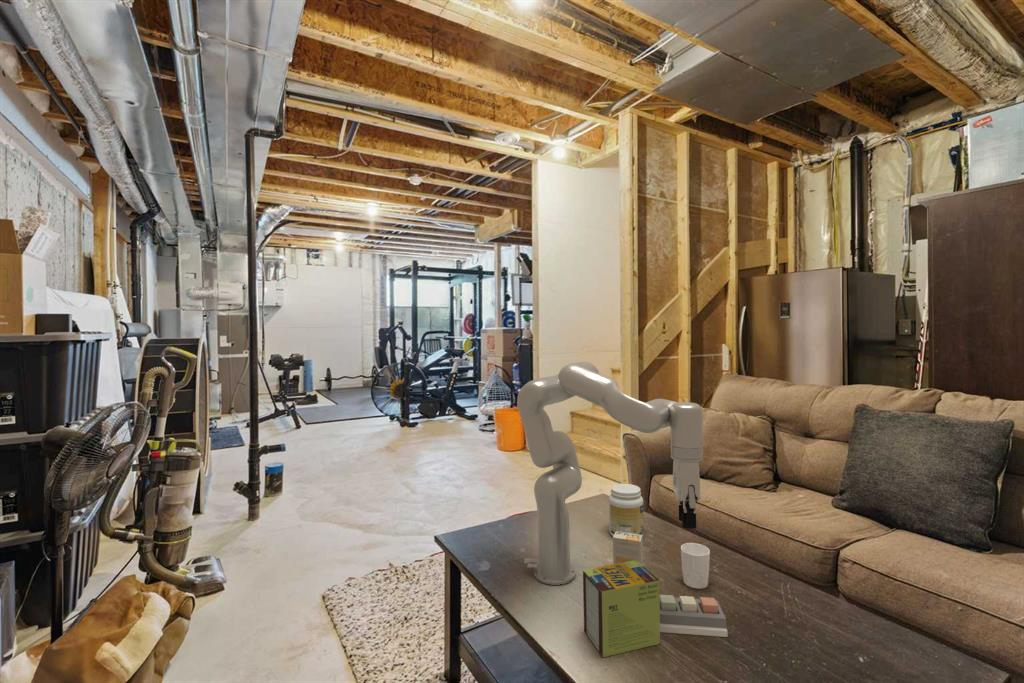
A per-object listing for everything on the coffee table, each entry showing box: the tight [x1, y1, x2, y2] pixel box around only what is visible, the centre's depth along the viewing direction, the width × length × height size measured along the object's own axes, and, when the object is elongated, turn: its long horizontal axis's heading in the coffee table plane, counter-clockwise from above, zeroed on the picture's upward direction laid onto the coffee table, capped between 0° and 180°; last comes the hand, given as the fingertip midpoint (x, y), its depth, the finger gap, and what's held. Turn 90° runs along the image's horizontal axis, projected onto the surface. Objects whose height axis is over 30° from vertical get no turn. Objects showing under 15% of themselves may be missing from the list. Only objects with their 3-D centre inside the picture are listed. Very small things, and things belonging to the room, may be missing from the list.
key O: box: [659, 594, 676, 611], centre depth 120 cm, size 3×3×2 cm
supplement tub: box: [608, 483, 645, 537], centre depth 169 cm, size 12×12×17 cm
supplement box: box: [612, 531, 645, 567], centre depth 140 cm, size 8×5×13 cm, turn 65°
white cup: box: [680, 542, 711, 590], centre depth 137 cm, size 8×8×10 cm
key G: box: [699, 596, 718, 614], centre depth 119 cm, size 3×3×2 cm
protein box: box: [582, 560, 661, 658], centre depth 114 cm, size 10×15×16 cm
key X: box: [679, 595, 697, 612], centre depth 119 cm, size 3×3×2 cm
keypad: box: [659, 596, 729, 638], centre depth 120 cm, size 16×10×4 cm, turn 81°
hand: (687, 523), depth 119 cm, fingers open, 3 cm apart
